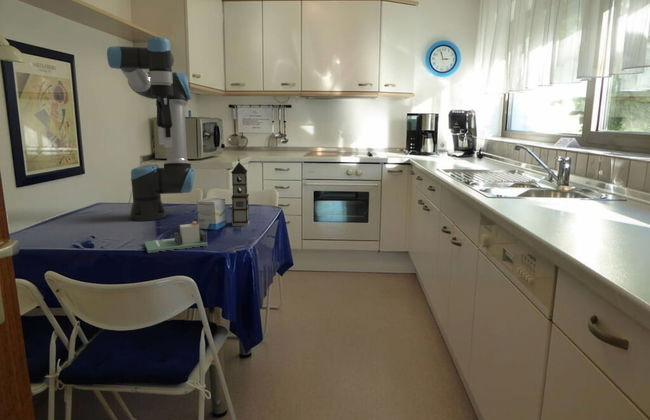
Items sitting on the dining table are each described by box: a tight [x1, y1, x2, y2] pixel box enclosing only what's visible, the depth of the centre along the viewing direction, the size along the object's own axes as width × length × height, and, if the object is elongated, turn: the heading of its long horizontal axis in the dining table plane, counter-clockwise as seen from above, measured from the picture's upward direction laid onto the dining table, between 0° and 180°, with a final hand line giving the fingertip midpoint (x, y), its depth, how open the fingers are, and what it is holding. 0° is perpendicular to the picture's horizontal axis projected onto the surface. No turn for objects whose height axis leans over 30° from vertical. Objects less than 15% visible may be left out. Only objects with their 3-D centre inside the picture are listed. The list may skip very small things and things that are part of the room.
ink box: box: [196, 197, 227, 231], centre depth 189 cm, size 9×8×12 cm
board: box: [143, 229, 209, 254], centre depth 164 cm, size 12×20×4 cm, turn 117°
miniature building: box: [230, 158, 250, 227], centre depth 192 cm, size 7×7×30 cm
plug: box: [179, 220, 200, 244], centre depth 164 cm, size 4×6×7 cm, turn 116°
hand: (165, 145), depth 165 cm, fingers open, 13 cm apart
